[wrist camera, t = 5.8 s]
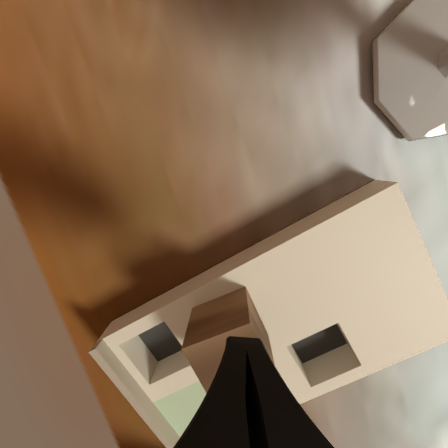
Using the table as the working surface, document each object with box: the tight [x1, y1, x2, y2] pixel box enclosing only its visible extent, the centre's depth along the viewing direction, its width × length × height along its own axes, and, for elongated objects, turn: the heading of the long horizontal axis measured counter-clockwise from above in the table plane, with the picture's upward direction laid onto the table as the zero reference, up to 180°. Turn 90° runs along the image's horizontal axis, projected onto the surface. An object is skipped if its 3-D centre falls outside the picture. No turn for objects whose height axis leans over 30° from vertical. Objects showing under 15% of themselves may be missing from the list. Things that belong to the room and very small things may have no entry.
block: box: [181, 287, 275, 393], centre depth 16 cm, size 4×4×4 cm
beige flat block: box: [89, 180, 448, 448], centre depth 19 cm, size 12×23×4 cm, turn 120°
